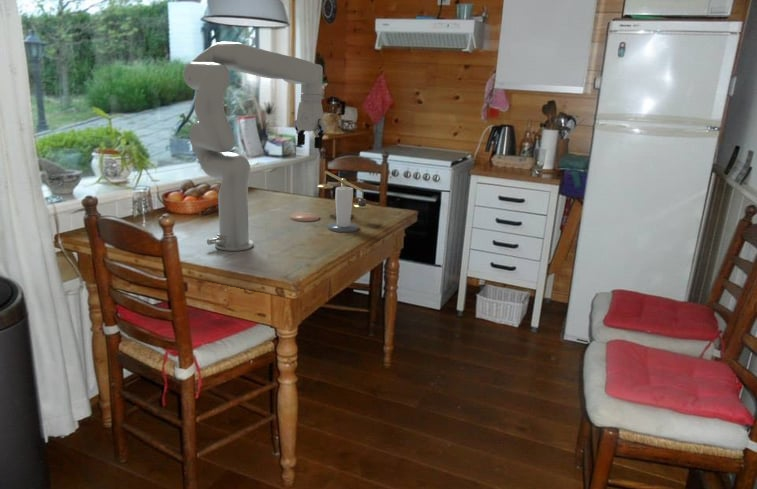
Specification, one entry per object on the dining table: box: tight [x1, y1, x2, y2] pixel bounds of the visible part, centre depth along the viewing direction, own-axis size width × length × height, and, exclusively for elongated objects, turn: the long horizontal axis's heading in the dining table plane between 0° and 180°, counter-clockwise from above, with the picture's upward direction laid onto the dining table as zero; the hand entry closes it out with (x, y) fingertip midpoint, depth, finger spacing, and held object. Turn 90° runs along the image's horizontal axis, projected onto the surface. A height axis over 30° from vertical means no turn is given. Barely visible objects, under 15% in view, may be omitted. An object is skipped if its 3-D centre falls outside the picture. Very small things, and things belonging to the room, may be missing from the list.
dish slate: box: [327, 221, 359, 233], centre depth 217 cm, size 12×12×1 cm
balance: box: [316, 170, 371, 220], centre depth 231 cm, size 8×29×18 cm, turn 50°
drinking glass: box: [334, 186, 354, 227], centre depth 214 cm, size 7×7×15 cm
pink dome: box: [289, 211, 320, 223], centre depth 229 cm, size 12×12×1 cm
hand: (309, 146), depth 206 cm, fingers open, 9 cm apart
